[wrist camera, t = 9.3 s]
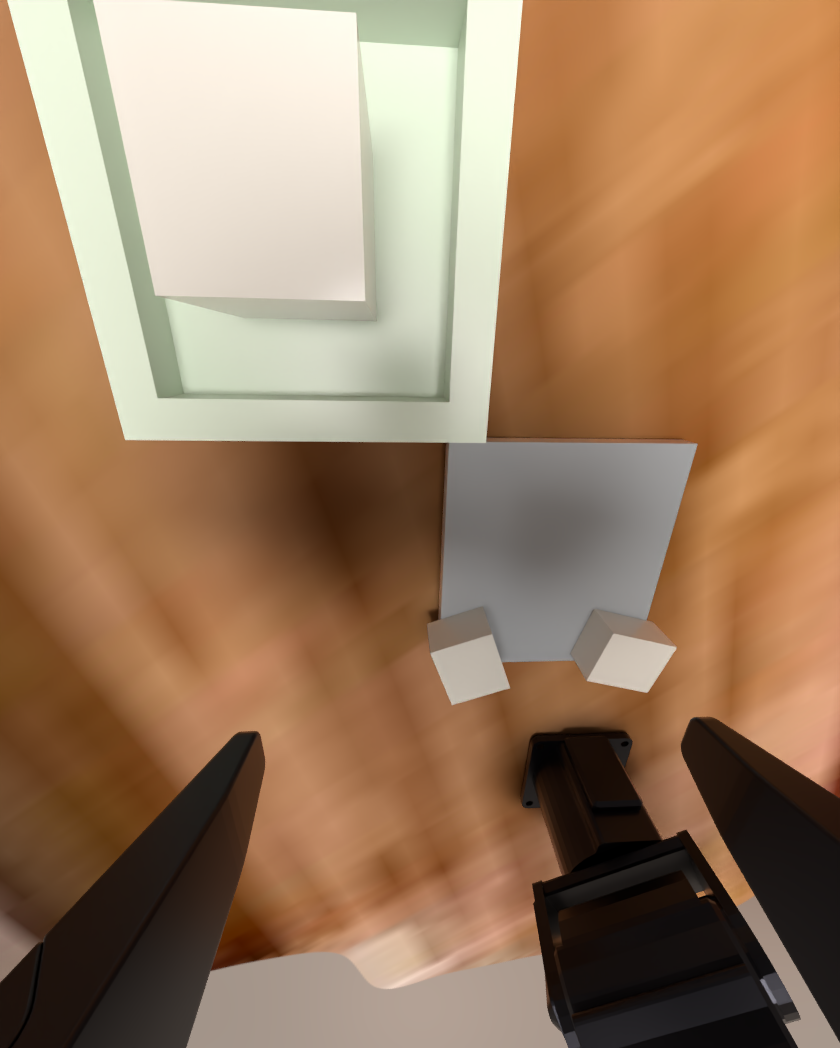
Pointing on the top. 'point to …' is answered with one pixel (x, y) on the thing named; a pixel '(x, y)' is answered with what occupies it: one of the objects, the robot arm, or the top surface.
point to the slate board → (555, 558)
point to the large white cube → (247, 155)
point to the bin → (400, 241)
